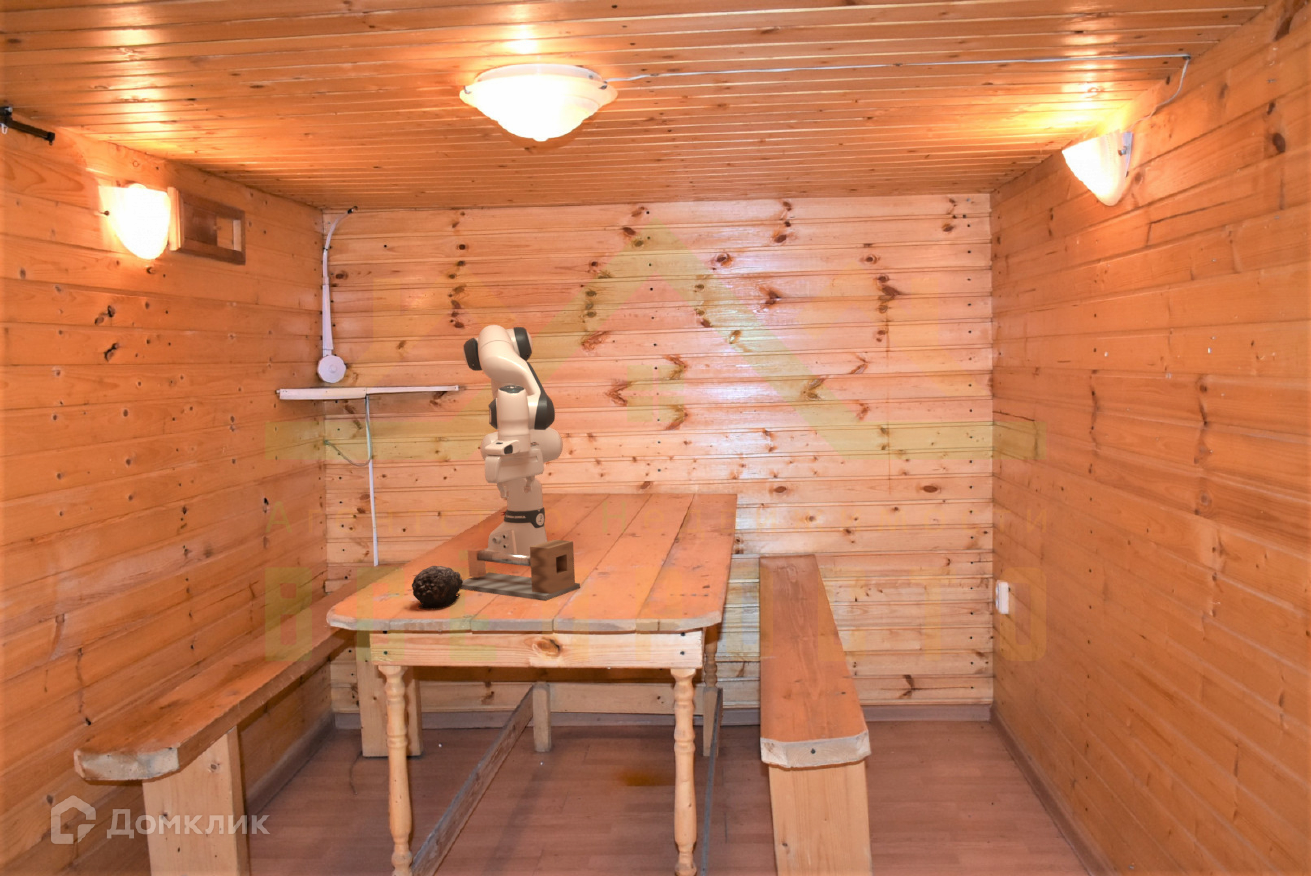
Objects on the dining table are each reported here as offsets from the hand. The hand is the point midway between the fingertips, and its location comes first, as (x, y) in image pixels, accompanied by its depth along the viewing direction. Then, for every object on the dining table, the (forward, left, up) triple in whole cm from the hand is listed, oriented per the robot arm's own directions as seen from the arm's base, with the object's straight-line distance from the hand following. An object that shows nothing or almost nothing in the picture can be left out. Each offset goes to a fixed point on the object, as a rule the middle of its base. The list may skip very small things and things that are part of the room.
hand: (516, 495), depth 256 cm
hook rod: (+2, -10, -21) cm, 23 cm away
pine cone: (-1, -30, -23) cm, 38 cm away
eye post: (+7, -10, -23) cm, 26 cm away
